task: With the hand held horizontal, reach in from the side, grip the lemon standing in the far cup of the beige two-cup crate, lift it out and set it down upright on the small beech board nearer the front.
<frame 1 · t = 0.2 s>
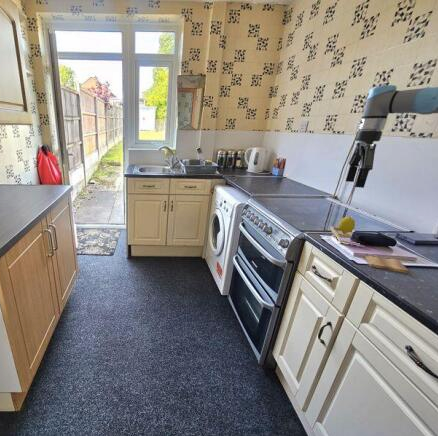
hand: (353, 184, 103), 23 cm above the countertop, tool pointing down, fingers open, 13 cm apart
lemon: (343, 233, 110), resting on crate
board: (383, 264, 87), on the countertop
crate: (346, 237, 107), on the countertop
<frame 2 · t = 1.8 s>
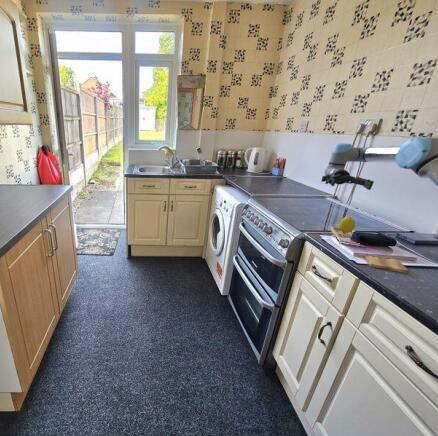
hand: (351, 185, 111), 21 cm above the countertop, tool horizontal, fingers open, 13 cm apart
nothing on the countertop moved.
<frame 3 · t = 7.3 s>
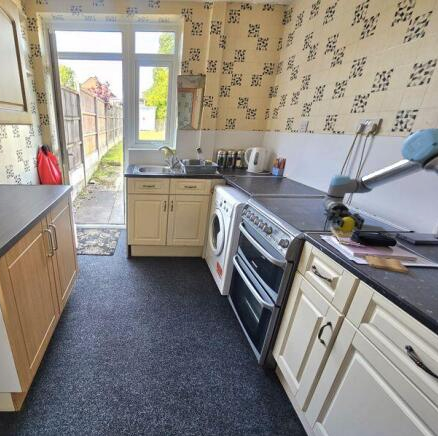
hand: (351, 225, 104), 6 cm above the countertop, tool horizontal, fingers closed on lemon, 5 cm apart
lemon: (343, 233, 110), resting on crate, touching gripper
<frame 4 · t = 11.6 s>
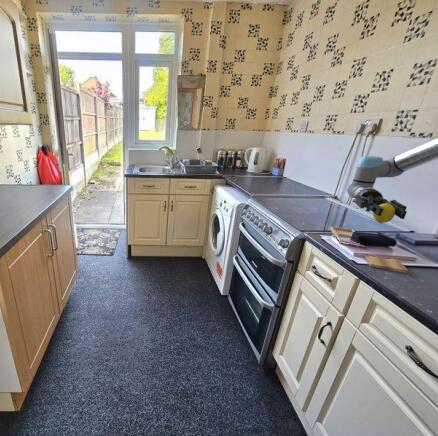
hand: (392, 213, 84), 18 cm above the countertop, tool horizontal, fingers closed on lemon, 5 cm apart
lemon: (379, 224, 90), point 12 cm above the countertop, touching gripper
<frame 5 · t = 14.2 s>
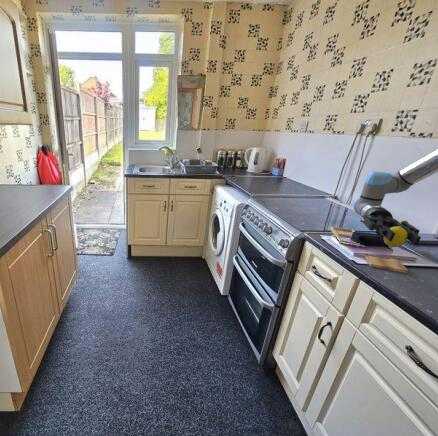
hand: (404, 238, 78), 12 cm above the countertop, tool horizontal, fingers closed on lemon, 5 cm apart
lemon: (390, 248, 85), point 6 cm above the countertop, touching gripper
when the fingers open (7 cm above the countertop, at t = 16.0 s): lemon stays where it is, resting on board.
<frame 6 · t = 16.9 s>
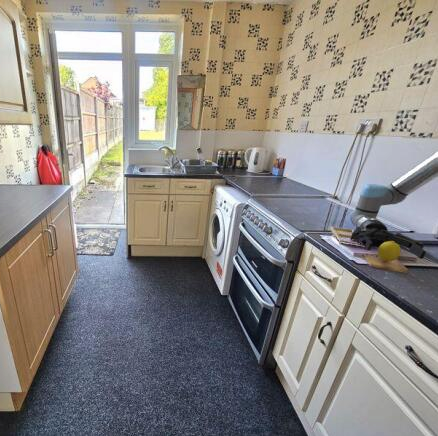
hand: (395, 250, 82), 7 cm above the countertop, tool horizontal, fingers open, 13 cm apart
lemon: (384, 262, 87), point 1 cm above the countertop, touching board
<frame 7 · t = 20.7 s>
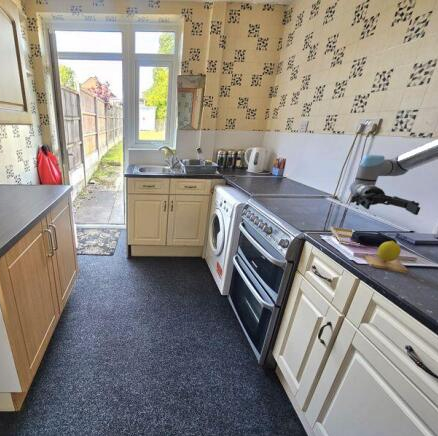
hand: (392, 208, 88), 18 cm above the countertop, tool horizontal, fingers open, 13 cm apart
nothing on the countertop moved.
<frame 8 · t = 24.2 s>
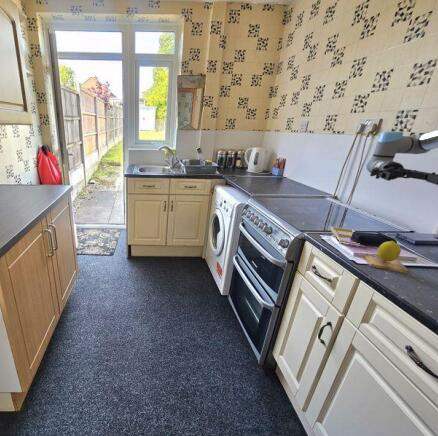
hand: (414, 179, 89), 28 cm above the countertop, tool horizontal, fingers open, 13 cm apart
nothing on the countertop moved.
at the end: lemon inside the target area on the board (0.1 cm from its centre), point 0.8 cm above the board's base; lemon tilted 0°; the gripper is holding nothing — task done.
